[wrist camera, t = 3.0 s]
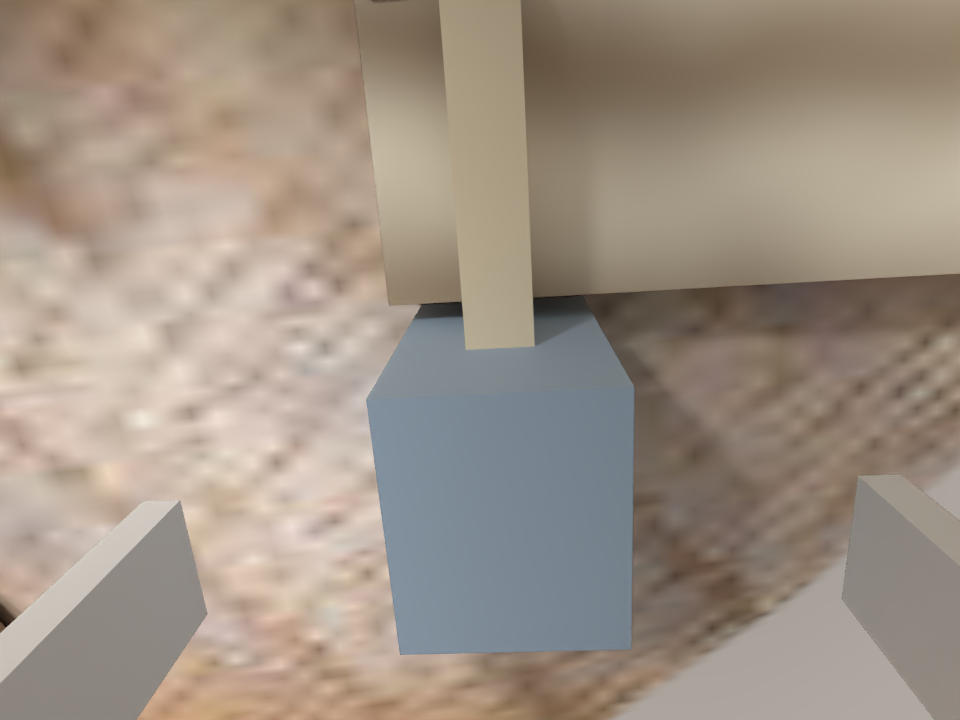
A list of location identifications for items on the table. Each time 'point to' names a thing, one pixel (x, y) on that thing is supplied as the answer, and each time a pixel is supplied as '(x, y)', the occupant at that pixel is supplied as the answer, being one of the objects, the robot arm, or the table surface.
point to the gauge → (502, 408)
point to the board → (686, 143)
